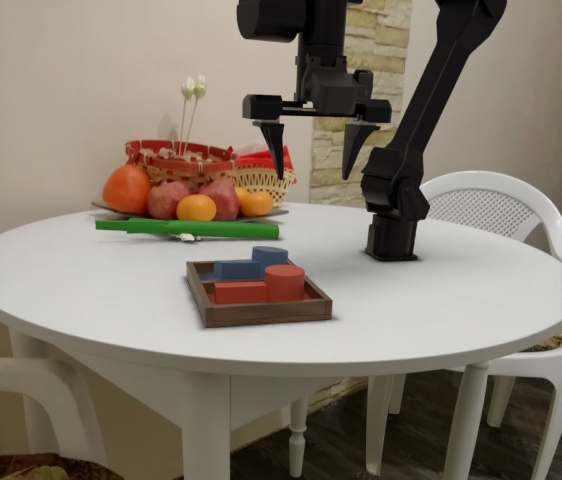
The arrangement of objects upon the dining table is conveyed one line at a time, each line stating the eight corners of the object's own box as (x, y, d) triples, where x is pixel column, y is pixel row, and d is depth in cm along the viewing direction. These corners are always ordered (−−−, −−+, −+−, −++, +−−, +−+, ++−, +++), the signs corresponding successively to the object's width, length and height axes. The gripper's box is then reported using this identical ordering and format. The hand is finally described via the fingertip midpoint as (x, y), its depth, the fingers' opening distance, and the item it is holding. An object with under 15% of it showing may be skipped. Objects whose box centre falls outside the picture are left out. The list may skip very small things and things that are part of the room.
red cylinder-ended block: (297, 292, 66) (299, 263, 64) (307, 304, 62) (309, 275, 60) (213, 295, 64) (212, 266, 62) (217, 308, 60) (217, 278, 58)
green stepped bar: (274, 240, 97) (97, 234, 90) (275, 221, 95) (95, 213, 88) (280, 247, 93) (95, 241, 85) (281, 227, 91) (93, 220, 84)
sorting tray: (287, 273, 76) (288, 257, 75) (331, 319, 60) (333, 300, 59) (186, 277, 72) (186, 261, 71) (205, 327, 57) (205, 307, 56)
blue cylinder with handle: (269, 272, 73) (272, 246, 72) (292, 279, 70) (295, 252, 69) (206, 274, 67) (208, 245, 66) (228, 282, 64) (230, 252, 62)
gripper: (262, 35, 58) (259, 189, 65) (420, 46, 62) (402, 188, 69) (241, 43, 67) (241, 177, 74) (380, 52, 72) (367, 177, 79)
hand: (313, 179), depth 74 cm, fingers open, 9 cm apart
